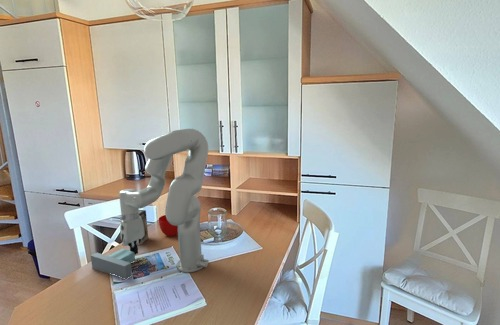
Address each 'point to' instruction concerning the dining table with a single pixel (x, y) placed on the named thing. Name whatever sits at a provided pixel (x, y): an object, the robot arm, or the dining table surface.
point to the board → (111, 265)
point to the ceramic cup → (167, 227)
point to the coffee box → (144, 219)
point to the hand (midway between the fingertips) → (134, 253)
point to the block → (124, 255)
